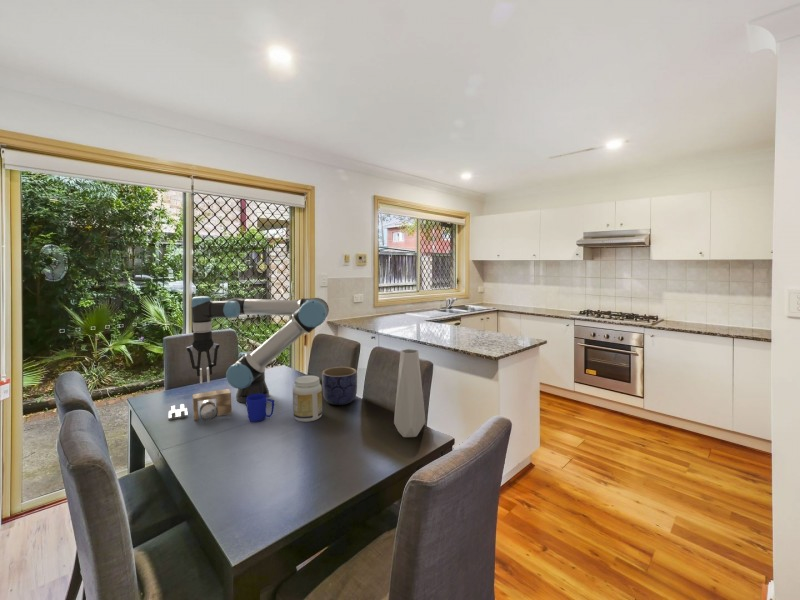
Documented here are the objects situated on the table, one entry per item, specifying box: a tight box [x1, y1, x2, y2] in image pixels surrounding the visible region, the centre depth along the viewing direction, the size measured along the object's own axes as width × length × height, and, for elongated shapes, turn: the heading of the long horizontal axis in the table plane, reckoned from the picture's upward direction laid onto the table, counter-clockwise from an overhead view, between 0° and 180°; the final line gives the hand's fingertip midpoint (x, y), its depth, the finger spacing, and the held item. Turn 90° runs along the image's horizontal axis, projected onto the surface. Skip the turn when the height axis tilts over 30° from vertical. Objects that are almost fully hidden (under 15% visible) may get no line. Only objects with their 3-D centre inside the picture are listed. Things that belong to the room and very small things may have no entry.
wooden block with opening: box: [192, 388, 233, 421], centre depth 164 cm, size 14×6×10 cm, turn 121°
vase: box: [393, 348, 426, 438], centre depth 145 cm, size 12×12×33 cm
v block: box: [168, 403, 189, 421], centre depth 164 cm, size 7×9×3 cm
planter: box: [321, 366, 358, 406], centre depth 180 cm, size 16×17×15 cm
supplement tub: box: [292, 375, 323, 423], centre depth 162 cm, size 12×12×17 cm
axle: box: [198, 399, 218, 420], centre depth 166 cm, size 6×15×6 cm, turn 32°
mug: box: [245, 394, 275, 423], centre depth 158 cm, size 8×12×10 cm
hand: (204, 382), depth 169 cm, fingers open, 2 cm apart
